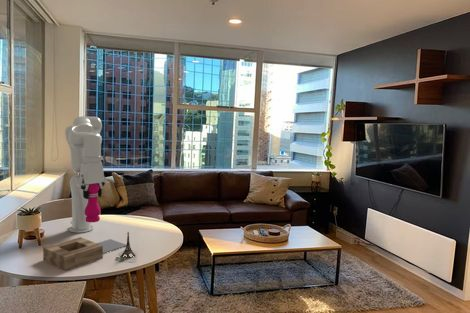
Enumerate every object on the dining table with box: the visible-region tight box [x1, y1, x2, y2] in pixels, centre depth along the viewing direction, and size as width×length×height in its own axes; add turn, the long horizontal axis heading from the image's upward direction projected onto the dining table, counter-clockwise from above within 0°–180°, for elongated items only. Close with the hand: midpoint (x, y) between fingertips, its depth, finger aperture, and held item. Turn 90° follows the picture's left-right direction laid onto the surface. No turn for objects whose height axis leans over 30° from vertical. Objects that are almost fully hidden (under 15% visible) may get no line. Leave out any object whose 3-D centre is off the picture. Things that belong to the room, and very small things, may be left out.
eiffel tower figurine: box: [114, 231, 136, 263], centre depth 165 cm, size 15×10×13 cm
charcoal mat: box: [96, 238, 127, 255], centre depth 177 cm, size 14×14×1 cm
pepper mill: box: [85, 184, 102, 223], centre depth 167 cm, size 7×7×20 cm
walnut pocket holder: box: [42, 236, 104, 272], centre depth 160 cm, size 18×18×6 cm
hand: (92, 197), depth 167 cm, fingers closed on pepper mill, 5 cm apart
